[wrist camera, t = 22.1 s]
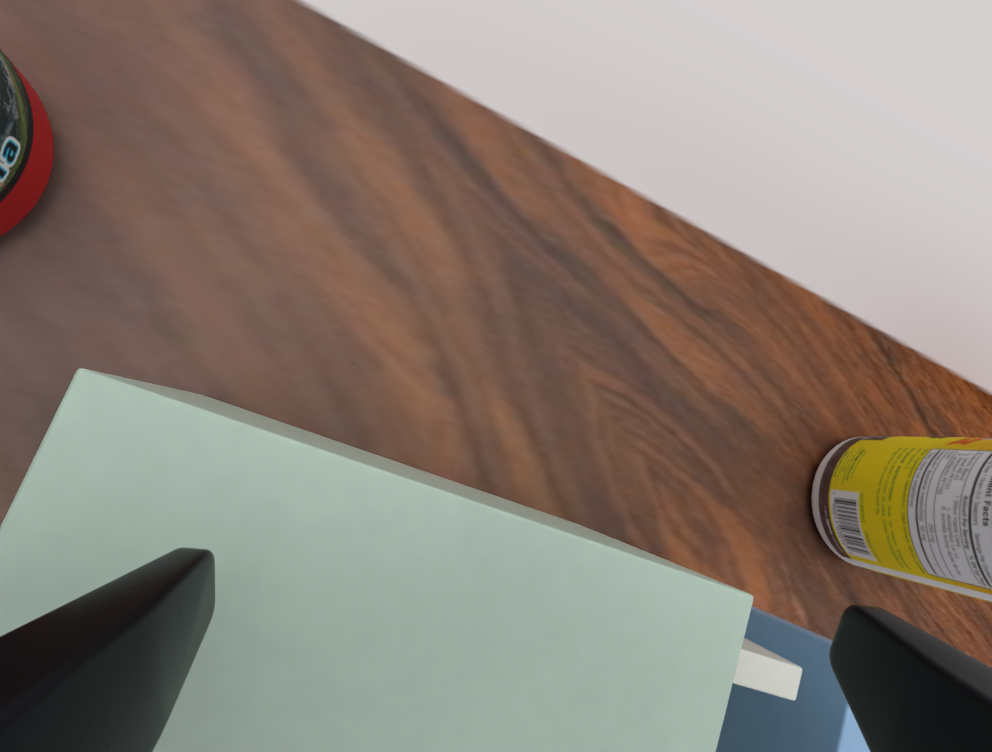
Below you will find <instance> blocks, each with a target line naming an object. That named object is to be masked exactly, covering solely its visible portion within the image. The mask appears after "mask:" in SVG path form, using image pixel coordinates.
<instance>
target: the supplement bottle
mask: <svg viewBox="0 0 992 752" xmlns="http://www.w3.org/2000/svg"><path fill="white" fill-rule="evenodd" d="M812 511H813V516H814V520H815V523H816V526H817V528H818V531H819V533H820V535H821V537H822V538H823V540H824V541H825V543H826V544H827V545H828V547H829V548H830V549H831V550H832V551H833V552H834V553H835V554H836V555H837V556H839V557H840V558H841V559H843V560H844V561H846V562H848V563H850V564H852V565H855V566H858V567H861V568H864V569H868V570H871V571H875V572H879V573H883V574H886V575H890V576H894V577H898V578H901V579H905V580H909V581H913V582H917V583H920V584H924V585H928V586H932V587H936V588H939V589H943V590H947V591H951V592H954V593H958V594H962V595H966V596H969V597H973V598H977V599H981V600H984V601H988V602H992V438H968V437H902V436H900V437H896V436H892V437H890V436H862V437H855V438H851V439H848V440H845V441H843V442H841V443H840V444H838V445H836V446H835V447H834V448H833V449H832V450H831V451H830V452H829V453H828V454H827V455H826V456H825V457H824V459H823V460H822V462H821V463H820V465H819V467H818V470H817V472H816V475H815V478H814V482H813V487H812Z"/></svg>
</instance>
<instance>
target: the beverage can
mask: <svg viewBox="0 0 992 752" xmlns="http://www.w3.org/2000/svg"><path fill="white" fill-rule="evenodd" d="M53 156H54V142H53V134H52V130H51V125H50V122H49V119H48V116H47V113H46V111H45V108H44V106H43V104H42V102H41V100H40V99H39V97H38V95H37V93H36V92H35V91H34V89H33V88H32V86H31V85H30V84H29V82H28V81H27V80H26V79H25V78H24V76H23V75H22V74H21V73H20V72H19V70H18V69H17V68H16V67H15V66H14V65H13V63H12V62H11V61H10V60H9V59H8V58H7V56H6V55H5V54H4V53H3V52H2V51H1V49H0V236H2V235H3V234H5V233H6V232H7V231H9V230H10V229H12V228H13V227H14V226H15V225H17V224H18V223H19V222H20V221H21V220H22V219H23V218H24V217H25V216H26V215H27V214H28V213H29V212H30V211H31V210H32V209H33V207H34V206H35V205H36V203H37V202H38V200H39V199H40V197H41V195H42V193H43V192H44V190H45V187H46V185H47V183H48V180H49V177H50V174H51V170H52V165H53Z"/></svg>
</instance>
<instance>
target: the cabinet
mask: <svg viewBox="0 0 992 752" xmlns="http://www.w3.org/2000/svg"><path fill="white" fill-rule="evenodd" d="M181 547H187V548H198V549H208V550H210V551H211V552H212V553H213V555H214V559H215V608H214V613H213V616H212V619H211V622H210V624H209V626H208V629H207V631H206V633H205V636H204V638H203V640H202V643H201V645H200V647H199V650H198V652H197V654H196V657H195V659H194V661H193V664H192V666H191V668H190V671H189V673H188V675H187V678H186V680H185V682H184V685H183V687H182V689H181V692H180V694H179V696H178V698H177V701H176V703H175V705H174V708H173V710H172V712H171V715H170V717H169V719H168V721H167V724H166V726H165V728H164V730H163V732H162V734H161V736H160V738H159V740H158V742H157V744H156V746H155V748H154V750H153V752H716V748H717V744H718V740H719V736H720V732H721V728H722V724H723V720H724V716H725V712H726V708H727V704H728V700H729V696H730V692H731V688H732V684H733V680H734V676H735V672H736V668H737V663H738V659H739V655H740V651H741V647H742V643H743V639H744V635H745V631H746V627H747V623H748V619H749V615H750V611H751V607H752V603H753V596H752V595H751V594H749V593H746V592H744V591H741V590H739V589H737V588H734V587H732V586H729V585H726V584H724V583H722V582H719V581H717V580H714V579H712V578H709V577H707V576H705V575H702V574H700V573H697V572H695V571H692V570H690V569H687V568H685V567H682V566H680V565H678V564H675V563H673V562H670V561H668V560H665V559H663V558H660V557H658V556H655V555H653V554H651V553H648V552H646V551H643V550H641V549H638V548H636V547H633V546H631V545H628V544H626V543H623V542H621V541H619V540H616V539H614V538H611V537H609V536H606V535H604V534H601V533H599V532H596V531H594V530H592V529H589V528H586V527H584V526H582V525H579V524H577V523H574V522H571V521H568V520H565V519H562V518H559V517H556V516H553V515H550V514H547V513H545V512H542V511H539V510H536V509H533V508H530V507H527V506H524V505H521V504H518V503H515V502H513V501H510V500H507V499H504V498H501V497H498V496H495V495H492V494H489V493H486V492H484V491H481V490H478V489H475V488H472V487H469V486H466V485H463V484H460V483H457V482H454V481H452V480H449V479H446V478H443V477H440V476H437V475H434V474H431V473H428V472H425V471H422V470H420V469H417V468H414V467H411V466H408V465H405V464H402V463H399V462H396V461H393V460H391V459H388V458H385V457H382V456H379V455H376V454H373V453H370V452H367V451H364V450H361V449H359V448H356V447H353V446H350V445H347V444H344V443H341V442H338V441H335V440H332V439H329V438H327V437H324V436H321V435H318V434H315V433H312V432H309V431H306V430H303V429H300V428H298V427H295V426H292V425H289V424H286V423H283V422H280V421H277V420H274V419H271V418H268V417H266V416H263V415H260V414H257V413H254V412H251V411H248V410H245V409H242V408H239V407H236V406H234V405H231V404H228V403H225V402H222V401H219V400H216V399H213V398H210V397H207V396H205V395H200V394H196V393H192V392H187V391H183V390H178V389H174V388H169V387H165V386H160V385H156V384H151V383H147V382H142V381H138V380H133V379H129V378H124V377H120V376H115V375H111V374H106V373H101V372H97V371H93V370H88V369H84V368H79V369H78V370H77V371H76V373H75V375H74V377H73V379H72V381H71V384H70V386H69V388H68V390H67V392H66V394H65V396H64V398H63V400H62V402H61V404H60V406H59V408H58V410H57V412H56V414H55V416H54V418H53V420H52V422H51V424H50V426H49V428H48V431H47V433H46V435H45V437H44V439H43V441H42V443H41V445H40V447H39V449H38V451H37V453H36V455H35V457H34V459H33V461H32V463H31V465H30V467H29V469H28V471H27V473H26V475H25V478H24V480H23V482H22V484H21V486H20V488H19V490H18V492H17V494H16V496H15V498H14V500H13V502H12V504H11V506H10V508H9V510H8V512H7V514H6V516H5V518H4V520H3V522H2V525H1V527H0V636H2V635H4V634H6V633H8V632H10V631H12V630H14V629H16V628H18V627H20V626H22V625H24V624H26V623H28V622H30V621H32V620H34V619H36V618H38V617H40V616H42V615H44V614H46V613H48V612H50V611H53V610H55V609H57V608H59V607H61V606H63V605H65V604H67V603H69V602H71V601H73V600H75V599H77V598H79V597H81V596H83V595H85V594H87V593H89V592H91V591H93V590H95V589H97V588H99V587H101V586H103V585H105V584H107V583H109V582H111V581H113V580H115V579H117V578H119V577H121V576H123V575H125V574H127V573H129V572H131V571H133V570H135V569H137V568H139V567H141V566H143V565H145V564H147V563H149V562H151V561H153V560H155V559H157V558H159V557H161V556H163V555H165V554H167V553H169V552H171V551H173V550H175V549H178V548H181Z"/></svg>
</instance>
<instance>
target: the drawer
mask: <svg viewBox="0 0 992 752" xmlns="http://www.w3.org/2000/svg"><path fill="white" fill-rule="evenodd" d="M831 644H832V640H830V639H828V638H825V637H823V636H821V635H818V634H816V633H814V632H812V631H809V630H807V629H805V628H802V627H800V626H798V625H795V624H793V623H791V622H788V621H786V620H784V619H782V618H779V617H777V616H775V615H772V614H770V613H768V612H765V611H763V610H761V609H758V608H756V607H754V606H752V607H751V611H750V615H749V619H748V623H747V627H746V631H745V635H744V639H743V643H742V647H741V651H740V655H739V659H738V663H737V668H736V672H735V676H734V680H733V684H732V688H731V692H730V696H729V700H728V704H727V708H726V712H725V716H724V720H723V724H722V728H721V732H720V736H719V740H718V744H717V748H716V752H870V750H869V748H868V746H867V744H866V741H865V739H864V737H863V735H862V733H861V731H860V728H859V726H858V724H857V722H856V720H855V718H854V715H853V713H852V711H851V709H850V707H849V705H848V702H847V700H846V698H845V696H844V694H843V692H842V690H841V687H840V685H839V683H838V681H837V679H836V677H835V674H834V672H833V670H832V667H831V664H830V658H829V652H830V647H831Z"/></svg>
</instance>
